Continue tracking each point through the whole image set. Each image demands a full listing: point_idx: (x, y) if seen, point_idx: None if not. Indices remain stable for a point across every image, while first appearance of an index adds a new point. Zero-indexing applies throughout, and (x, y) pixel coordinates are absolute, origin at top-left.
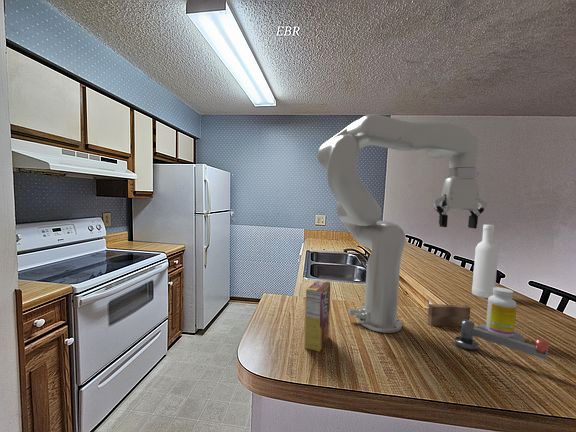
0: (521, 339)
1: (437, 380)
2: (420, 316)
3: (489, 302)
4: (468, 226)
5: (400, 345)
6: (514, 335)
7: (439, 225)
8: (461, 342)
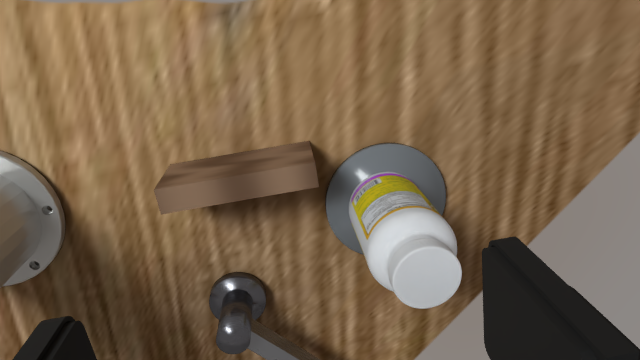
0: None
1: None
2: (157, 110)
3: (366, 249)
4: (486, 256)
5: None
6: None
7: (41, 324)
8: (220, 312)
